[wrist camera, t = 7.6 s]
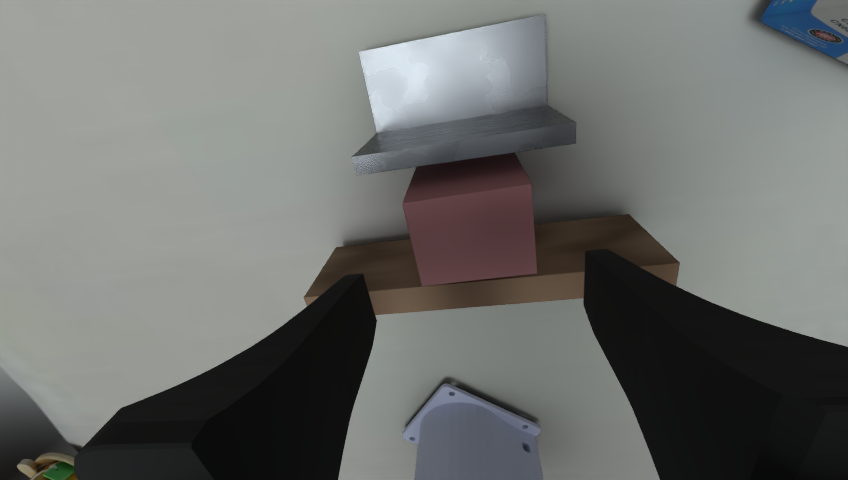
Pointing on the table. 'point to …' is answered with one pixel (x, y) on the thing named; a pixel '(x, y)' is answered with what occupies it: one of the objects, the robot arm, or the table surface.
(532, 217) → the mauve rectangular block
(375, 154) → the bookend
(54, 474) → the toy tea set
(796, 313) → the table surface
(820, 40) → the ink box
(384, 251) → the shelf wall
